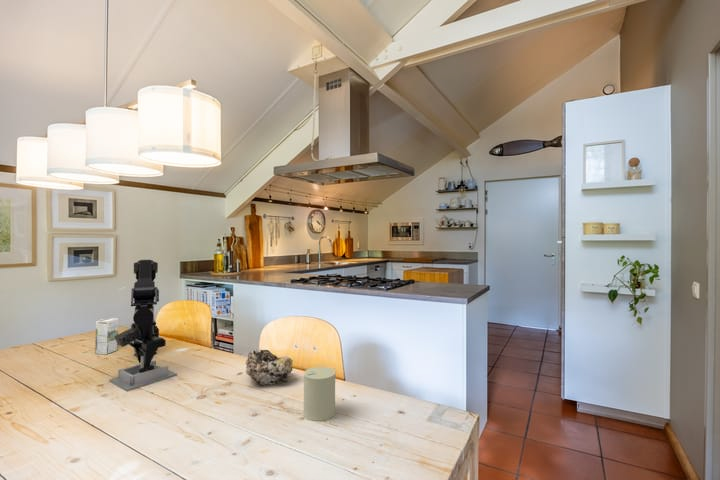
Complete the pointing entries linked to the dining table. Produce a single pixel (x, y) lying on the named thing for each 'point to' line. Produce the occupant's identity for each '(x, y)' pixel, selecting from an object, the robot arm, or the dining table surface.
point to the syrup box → (106, 335)
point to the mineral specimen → (268, 367)
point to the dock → (141, 376)
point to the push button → (143, 364)
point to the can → (319, 393)
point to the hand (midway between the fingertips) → (143, 363)
